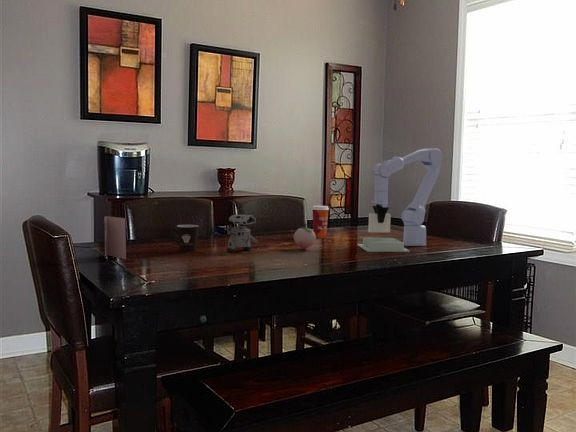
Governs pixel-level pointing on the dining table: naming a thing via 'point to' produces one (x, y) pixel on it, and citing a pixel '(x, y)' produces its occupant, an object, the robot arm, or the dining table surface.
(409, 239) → the robot arm
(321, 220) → the coffee cup
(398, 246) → the dish rack
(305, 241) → the decorative fruit
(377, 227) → the tile plate
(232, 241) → the figurine
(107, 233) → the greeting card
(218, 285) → the dining table surface
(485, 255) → the dining table surface
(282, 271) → the dining table surface
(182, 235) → the coffee mug
